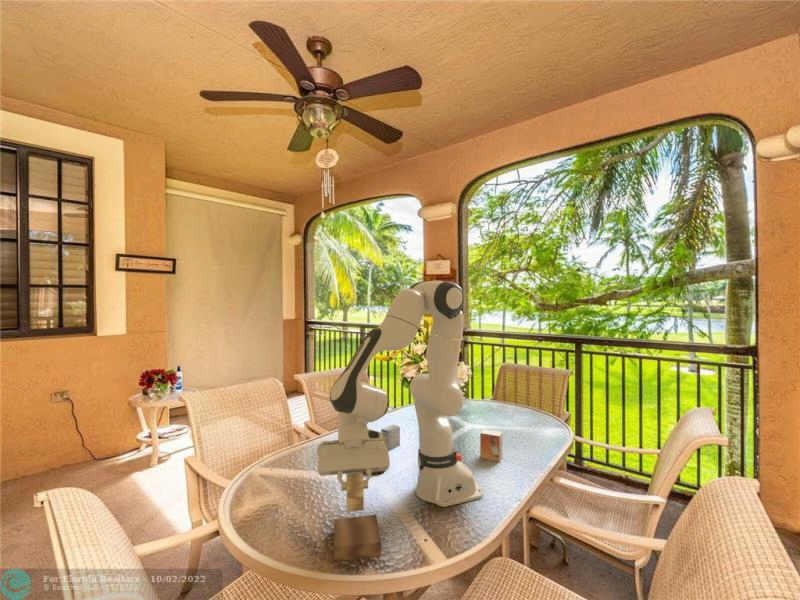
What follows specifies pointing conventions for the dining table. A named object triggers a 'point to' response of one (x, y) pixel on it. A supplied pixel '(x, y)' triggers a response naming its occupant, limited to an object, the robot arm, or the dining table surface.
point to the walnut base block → (356, 538)
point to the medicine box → (391, 436)
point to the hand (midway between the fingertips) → (354, 488)
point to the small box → (491, 445)
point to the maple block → (355, 492)
